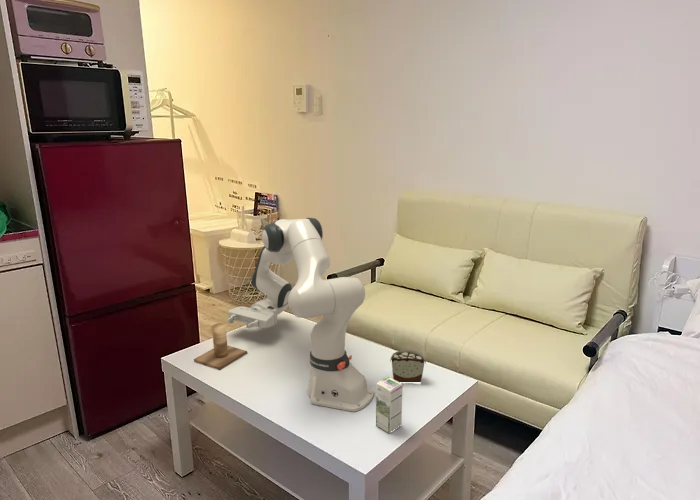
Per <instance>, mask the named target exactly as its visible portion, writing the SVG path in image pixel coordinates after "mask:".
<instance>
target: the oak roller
mask: <svg viewBox="0 0 700 500" xmlns="http://www.w3.org/2000/svg"><path fill="white" fill-rule="evenodd" d="M211 330H212V343H213V344H212V345H213V348H214V356H215V357H216V358H224V357H226V356H227V355H228V349H227V345H228V338H227V337H228V336H227V325H226V324H225V323H222V322H221V323H220V322H218V323H214V324H213V325H211Z"/></svg>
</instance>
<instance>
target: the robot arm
mask: <svg viewBox="0 0 700 500" xmlns="http://www.w3.org/2000/svg"><path fill="white" fill-rule="evenodd" d="M323 234H324V233H323V227H322V224H321V222H320V221H319V220H318V219H317V218H313V217H306V218H296V219H295V218H294V219H286V218H280V219H279V220H276V221H275V222H271V223H268V224H266V225H264V227H263V228H262V234H261V239H262V243H263V245H264V246H263V247H262V248H261V250H260V252H259V255H258V259H257V261H256V266H255V269H254V272H253V273H252V276H251V286H252V287H253V288H254V289H256V290H258V291H259V292H261V293H263V294H264V295H266V297H265V298H264V299H261V300H259V301H257V302H256V301H255V303H253V304H252V305H251V306H250V307H247V306H243V305H242V306H240V305H239V306H237V307H234V308H231V309H229V310H228V312H227V316H228V319H227V323H228V324H234V322H235V321H236V322H240V323H243V324H245V326H246V327H245V328H246V329H249V330H250V329H252V328H257V327H258V328H262V329H269V328H271V327H273V326H275V325H277V324H278V315H280V314H281V313H283V312H284V311H285V310H287V308H289V310H290V312H291V313H292V314H293V315H294V316H295V317H296V318H299V319H300V318H302V319H303V318H304V319H307V318H308V319H313V318H317V317H322V316H323V317H322V318H321V319H320V320H319V321H318V322H317V323H316V324H314V326H313V327H312V329H311V333H310V345H311V346H310V349H311V350H310V352H309V364H310V377H309V381H308V384H307V385H308V386H307V389H306V393H307V395H308V397H309V398H310V403H311V404H312V405H314V406H315V405H316V406H321V407H326V408H332V409H337V410H343V411H348V412H353V413H355V412H358V411H361V410H362V409H364V408H366V406H369V404H370V403H371V402H372V400H373V399H374V397H375V390H374V389H373V388H371V387H370V386H368V383H367V379H366V377H365V375H363V373H361V372H360V371H359V370H358V369H357V368H356V367H355V366H354V365H353V364H352V363H351V362H350V361H351V360H352V359H353V355H349V356H348V353H347V351H346V332H347V328H348V325H349V323H350V320H351V318H352V317H353V315H354V314H355V312H356V310H357V309H358V308H360V307H361V305H363V303H364V301H365V298H366V289H365V285H364V284H363V282H362V281H361V280H360V279H359V278H357V277H355V276H354V277H352V276H351V277H350V276H339V277H334V278H330V279H329V278H328V279H323V278H322V276H323V275H324V274H326V272H327V271H328V270H329V268H330V265H331V258H330V256H329V253H328V252H327V248H326V247H325V244H324V242H323V237H324V236H323ZM293 260H294V262H295V266H296V268H297V270H296V271H297V272H298V273H297V274H298V277H297V281H296V283H295V285H294V286H293V287H292V284H291V283H290V282H289V281H287V280H286V279H284V278H282V277H281V276H279V275H278V274H276V273H275V272H273V271H272V270H271V269H270V266H271V264H274V265H278V266H279V265H280V266H282V265H286V264H289V263H291V262H292V261H293Z"/></svg>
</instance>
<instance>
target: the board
mask: <svg viewBox="0 0 700 500" xmlns="http://www.w3.org/2000/svg"><path fill="white" fill-rule="evenodd" d="M227 349H228V355H227V356H226V357H224V358H216V357H215V356H214V347H213V348H212V349H210V350H208V351H206V352H204V353H202V354H201V355H199V356H197V357H195V358H193V362H195V363H197V364H200V365H203V366H205V367H209V368H212V369H214V370H219V371H222V370H223V369H225V368H226V367H227V366H229V365H230V364H233V363H234V362H236V361H238V360H239V359H241V358H243V357H244V356H246V355H247V354H248V351H247V350H246V349H245V350H244V349H242V348H239V347H238V348H237V347H234V346H231V345H228V344H227Z"/></svg>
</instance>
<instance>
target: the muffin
mask: <svg viewBox="0 0 700 500" xmlns="http://www.w3.org/2000/svg"><path fill="white" fill-rule="evenodd" d="M389 359H390V360H389V362H391V368H392V379H394V380H396V381H398V382H421V383H422V381H423V375H424V367H425V364H427V360H426V357H425V355H423V354H422V353H421V352H418V351H415V350H410V349H402V350H398V351H395V352H393V353H392V354H391V356H390V358H389Z"/></svg>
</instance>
